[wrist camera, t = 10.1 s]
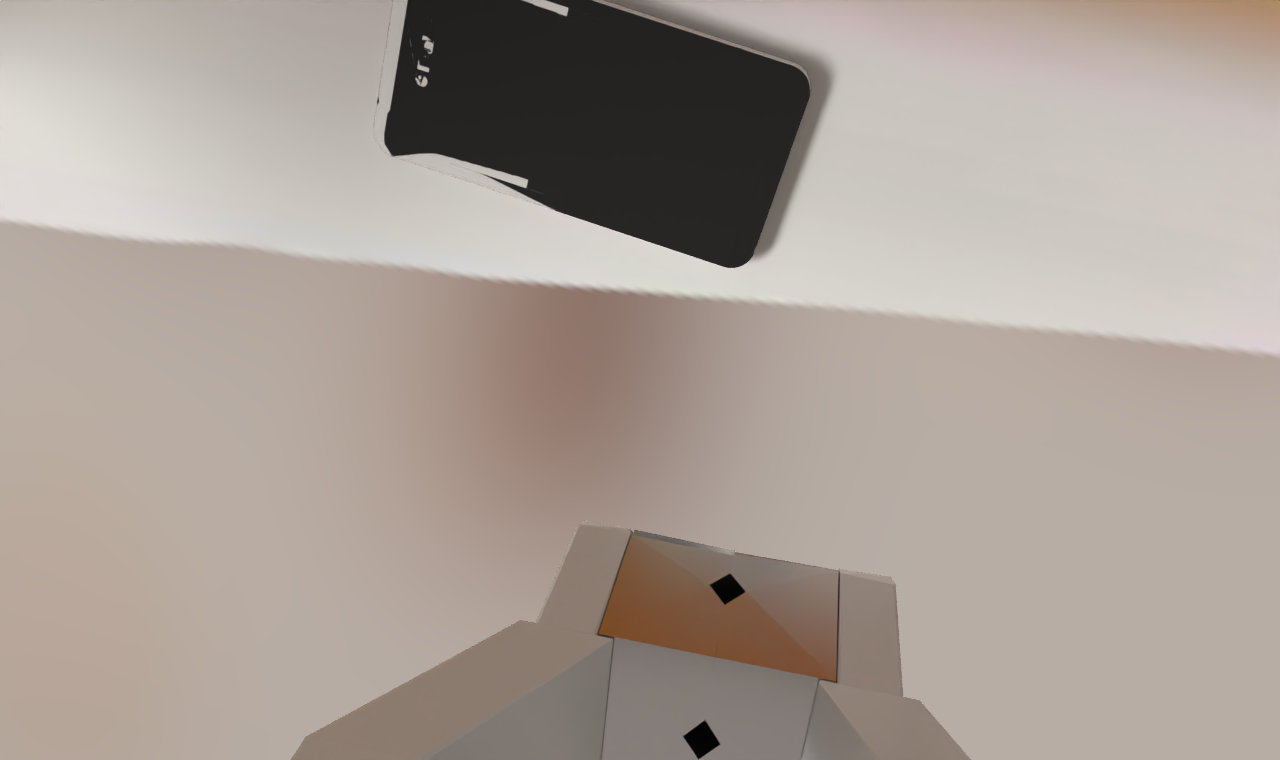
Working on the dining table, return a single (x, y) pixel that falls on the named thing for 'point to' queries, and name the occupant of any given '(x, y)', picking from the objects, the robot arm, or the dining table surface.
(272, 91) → the dining table surface
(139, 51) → the dining table surface
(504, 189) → the smartphone
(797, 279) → the dining table surface
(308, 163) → the dining table surface
